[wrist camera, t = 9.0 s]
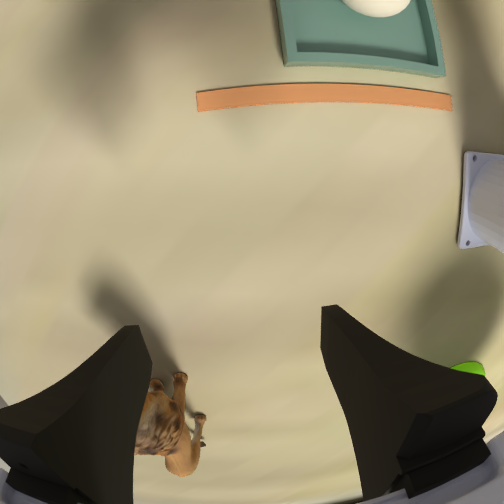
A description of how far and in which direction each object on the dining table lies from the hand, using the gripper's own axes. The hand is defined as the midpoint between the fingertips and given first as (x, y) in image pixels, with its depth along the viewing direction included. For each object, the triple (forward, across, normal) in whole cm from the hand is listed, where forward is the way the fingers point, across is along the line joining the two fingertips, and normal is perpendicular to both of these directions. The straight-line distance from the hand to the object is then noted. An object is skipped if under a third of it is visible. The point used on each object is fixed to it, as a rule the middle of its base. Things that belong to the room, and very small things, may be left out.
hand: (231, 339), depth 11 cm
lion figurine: (+10, +8, +14) cm, 19 cm away
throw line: (+9, -8, -10) cm, 16 cm away
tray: (+9, -10, -17) cm, 22 cm away
